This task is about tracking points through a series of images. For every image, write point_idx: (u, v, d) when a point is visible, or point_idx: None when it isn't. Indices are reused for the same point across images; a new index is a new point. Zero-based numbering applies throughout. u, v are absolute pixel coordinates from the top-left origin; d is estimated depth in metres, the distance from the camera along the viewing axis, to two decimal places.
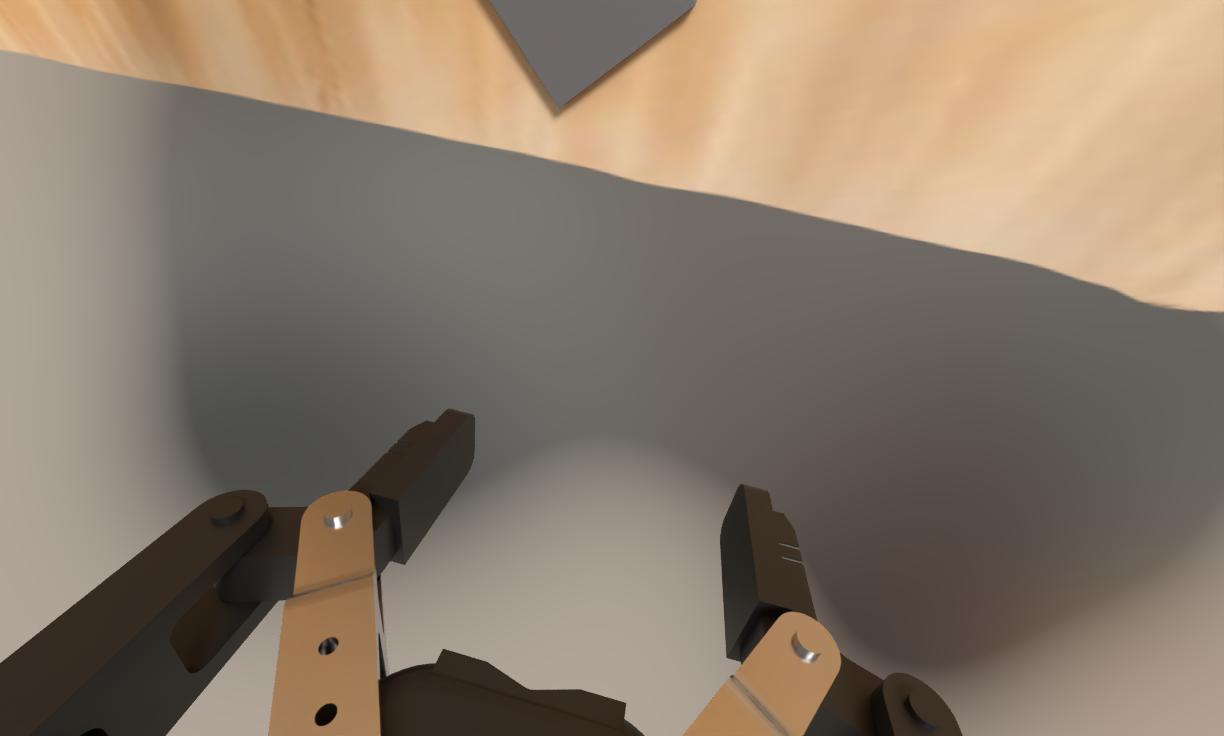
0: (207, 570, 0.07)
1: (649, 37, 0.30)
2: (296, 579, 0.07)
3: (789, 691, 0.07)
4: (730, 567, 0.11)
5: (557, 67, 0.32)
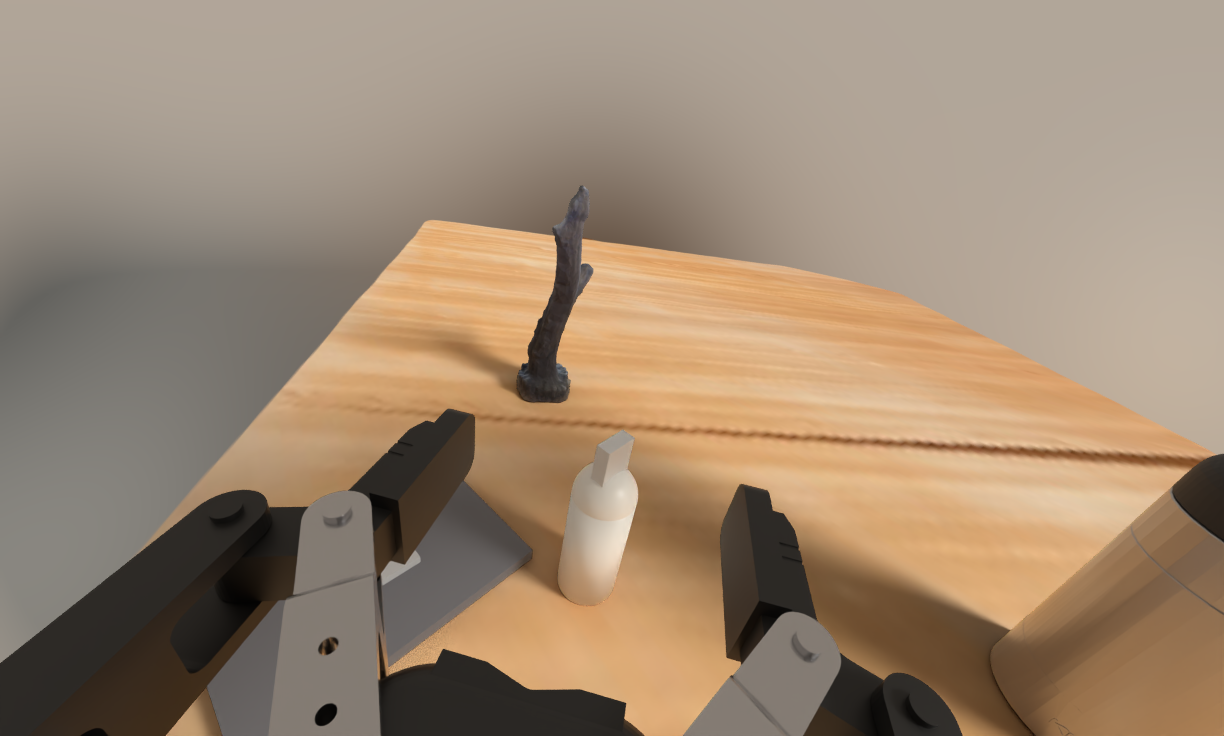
0: (207, 570, 0.07)
1: (217, 709, 0.22)
2: (296, 579, 0.07)
3: (789, 691, 0.07)
4: (730, 567, 0.11)
5: None
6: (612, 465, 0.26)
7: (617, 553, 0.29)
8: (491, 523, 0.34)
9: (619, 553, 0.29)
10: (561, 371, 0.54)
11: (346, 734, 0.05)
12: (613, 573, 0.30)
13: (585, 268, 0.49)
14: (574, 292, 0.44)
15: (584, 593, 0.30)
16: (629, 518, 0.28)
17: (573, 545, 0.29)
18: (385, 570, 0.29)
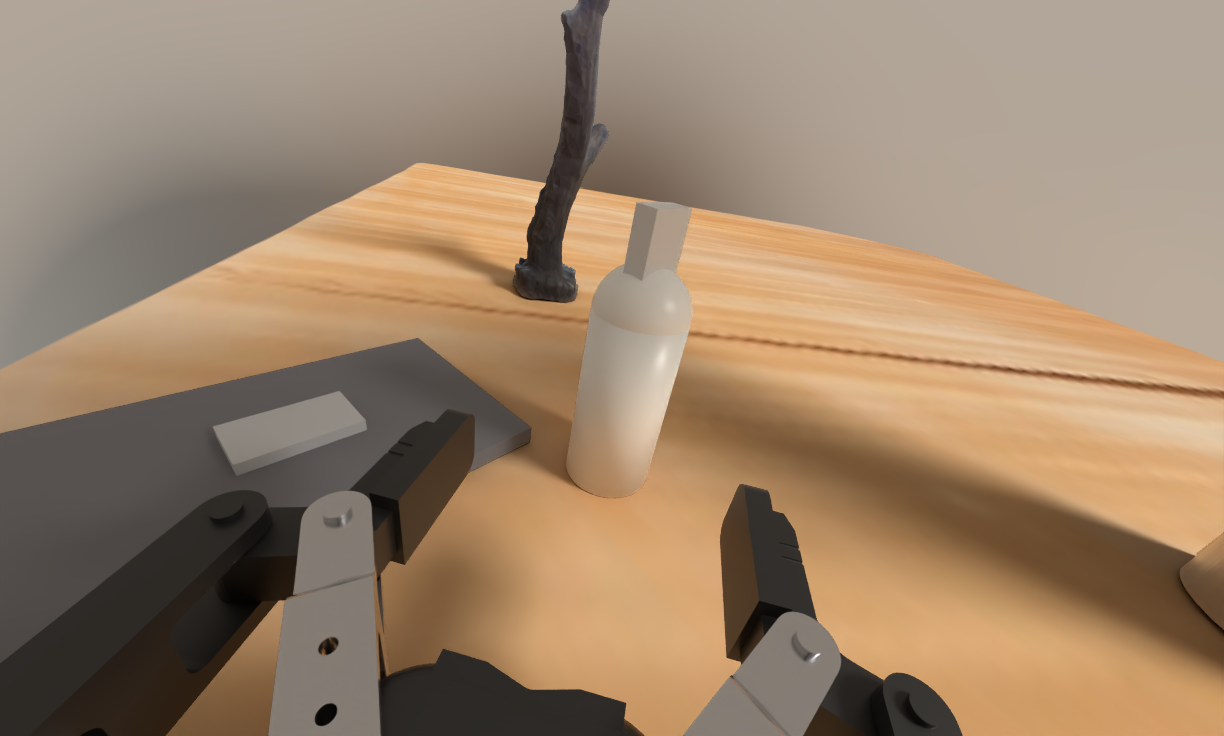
0: (207, 570, 0.07)
1: None
2: (296, 579, 0.07)
3: (789, 691, 0.07)
4: (730, 567, 0.11)
5: (57, 442, 0.17)
6: (658, 240, 0.16)
7: (658, 407, 0.19)
8: (474, 397, 0.25)
9: (661, 409, 0.20)
10: (567, 270, 0.45)
11: (346, 734, 0.05)
12: (649, 446, 0.21)
13: (599, 128, 0.39)
14: (587, 139, 0.35)
15: (606, 474, 0.21)
16: (680, 342, 0.18)
17: (592, 392, 0.19)
18: (310, 431, 0.19)
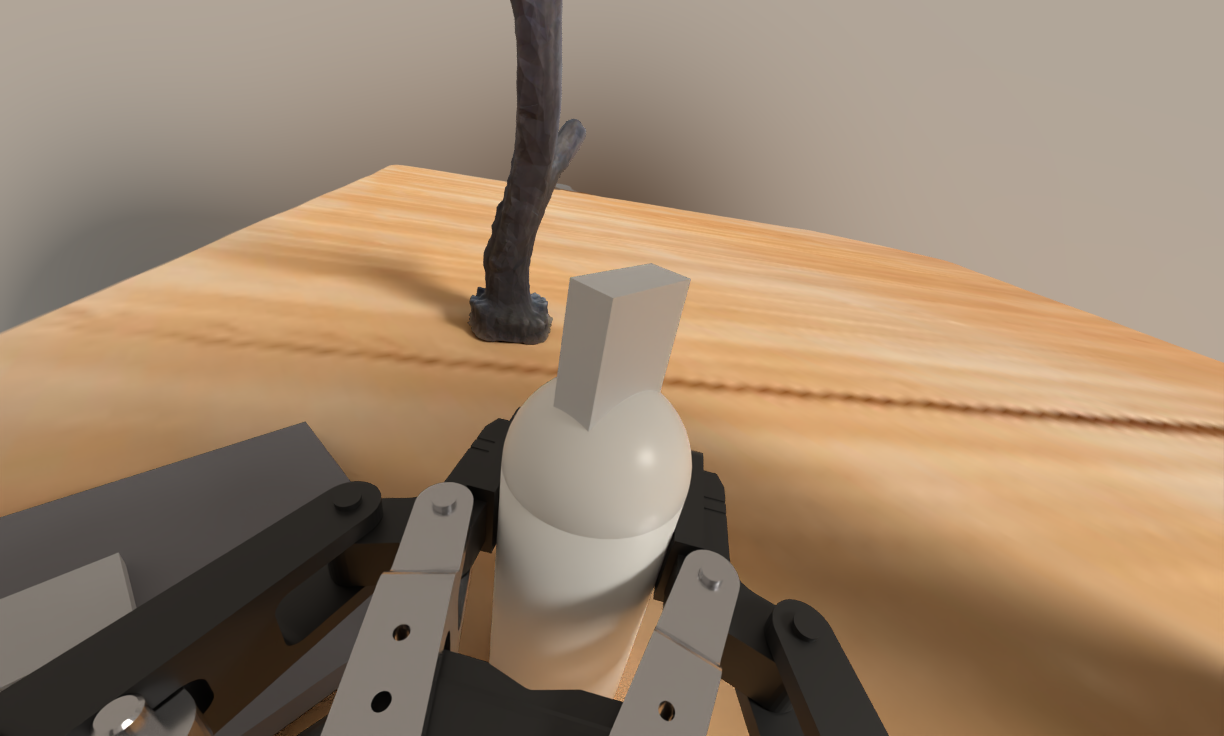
0: (317, 555, 0.08)
1: None
2: (397, 555, 0.08)
3: (704, 622, 0.08)
4: None
5: None
6: (620, 353, 0.08)
7: (631, 623, 0.11)
8: None
9: (636, 622, 0.11)
10: (538, 301, 0.36)
11: (346, 734, 0.05)
12: (619, 667, 0.12)
13: (573, 124, 0.31)
14: (552, 139, 0.26)
15: None
16: (669, 530, 0.09)
17: (509, 604, 0.10)
18: (8, 667, 0.11)
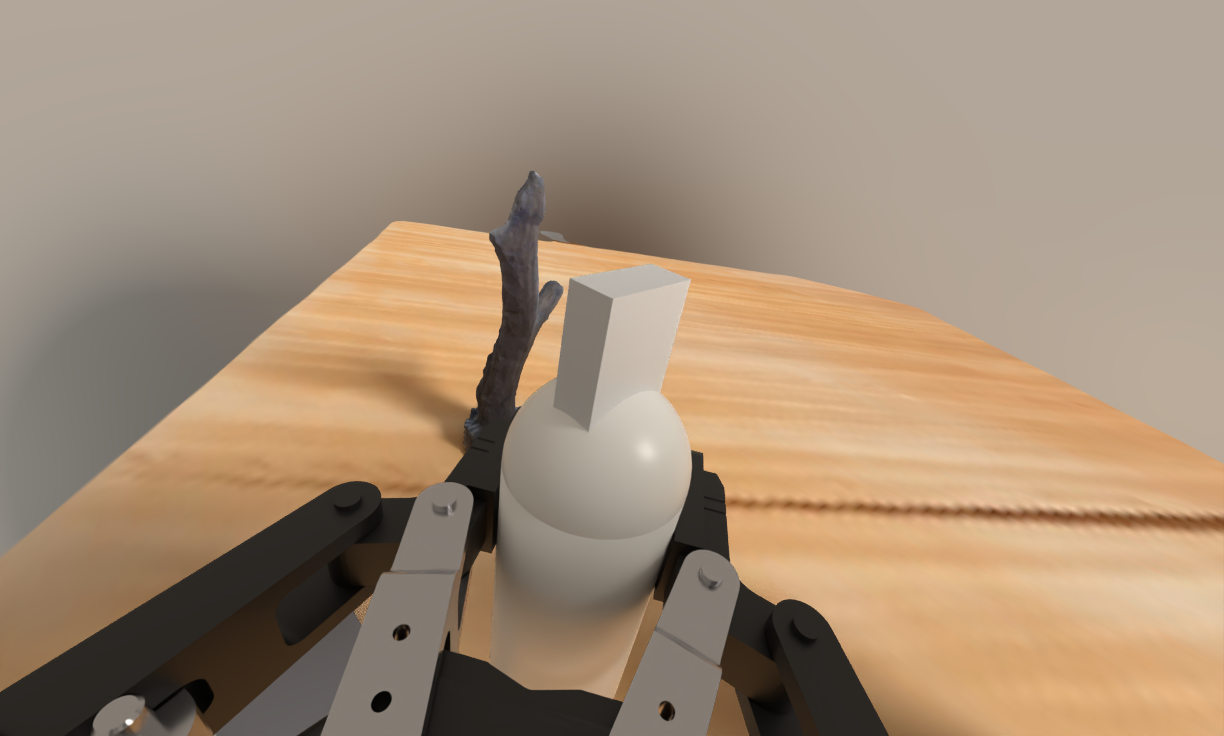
0: (317, 555, 0.08)
1: None
2: (397, 556, 0.08)
3: (704, 621, 0.08)
4: None
5: None
6: (620, 354, 0.08)
7: (631, 624, 0.11)
8: None
9: (636, 622, 0.11)
10: None
11: (346, 734, 0.05)
12: (619, 667, 0.12)
13: (552, 287, 0.36)
14: (531, 322, 0.32)
15: None
16: (669, 530, 0.09)
17: (510, 604, 0.10)
18: None
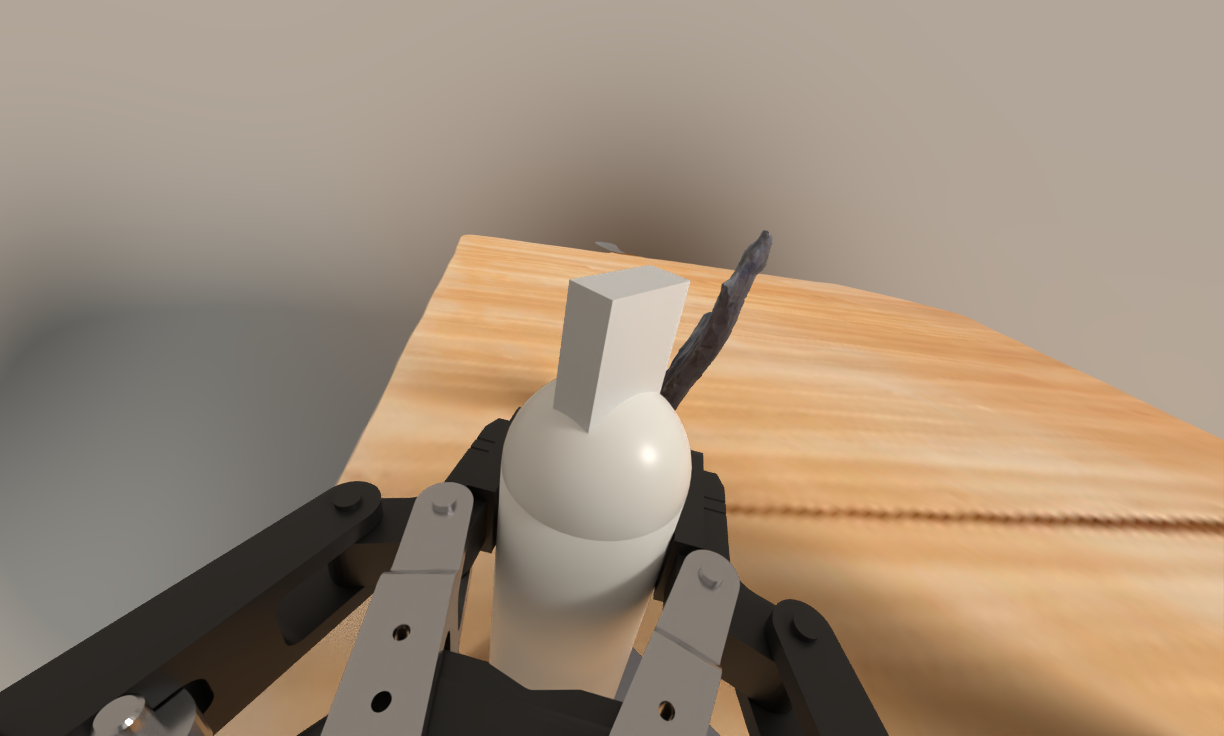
0: (317, 555, 0.08)
1: None
2: (396, 556, 0.08)
3: (704, 621, 0.08)
4: None
5: None
6: (619, 355, 0.08)
7: (631, 625, 0.11)
8: None
9: (635, 623, 0.11)
10: None
11: (346, 734, 0.05)
12: (618, 668, 0.12)
13: None
14: (716, 355, 0.35)
15: None
16: (669, 531, 0.09)
17: (509, 606, 0.10)
18: None
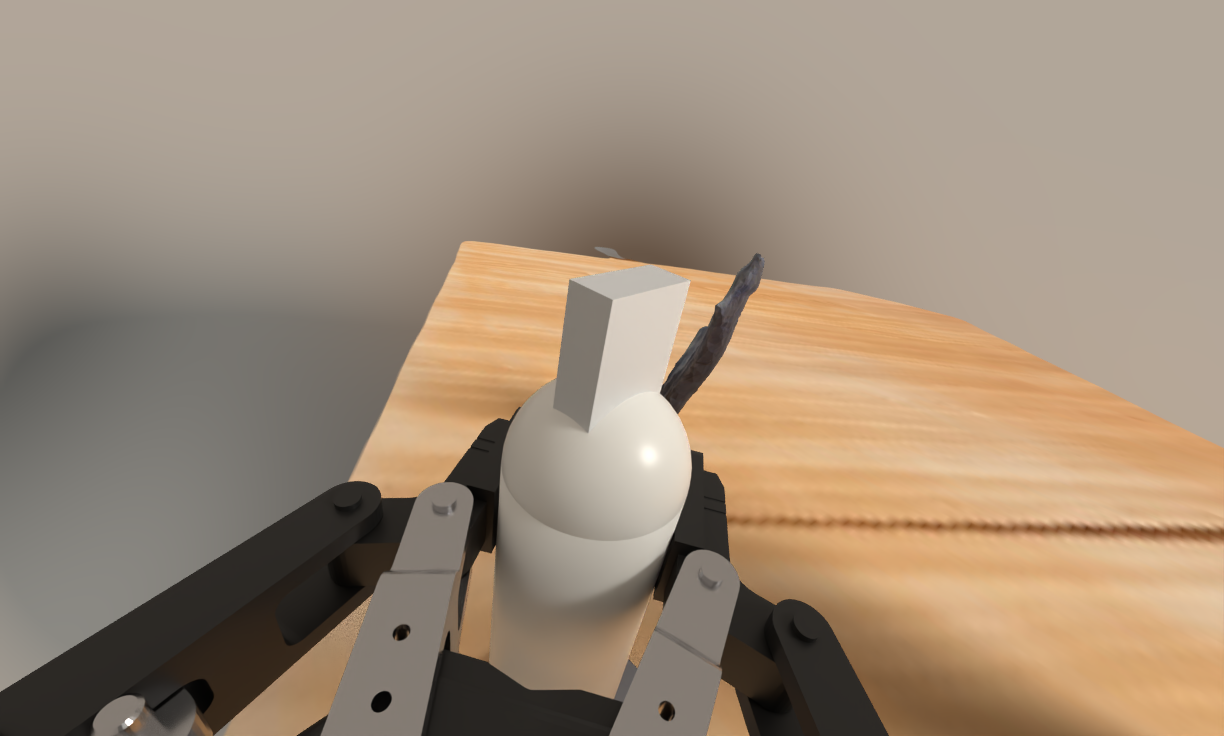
0: (317, 555, 0.08)
1: None
2: (397, 556, 0.08)
3: (704, 621, 0.08)
4: None
5: None
6: (620, 354, 0.08)
7: (631, 625, 0.11)
8: None
9: (636, 623, 0.11)
10: None
11: (346, 734, 0.05)
12: (619, 668, 0.12)
13: None
14: (711, 371, 0.36)
15: None
16: (669, 531, 0.09)
17: (509, 605, 0.10)
18: None
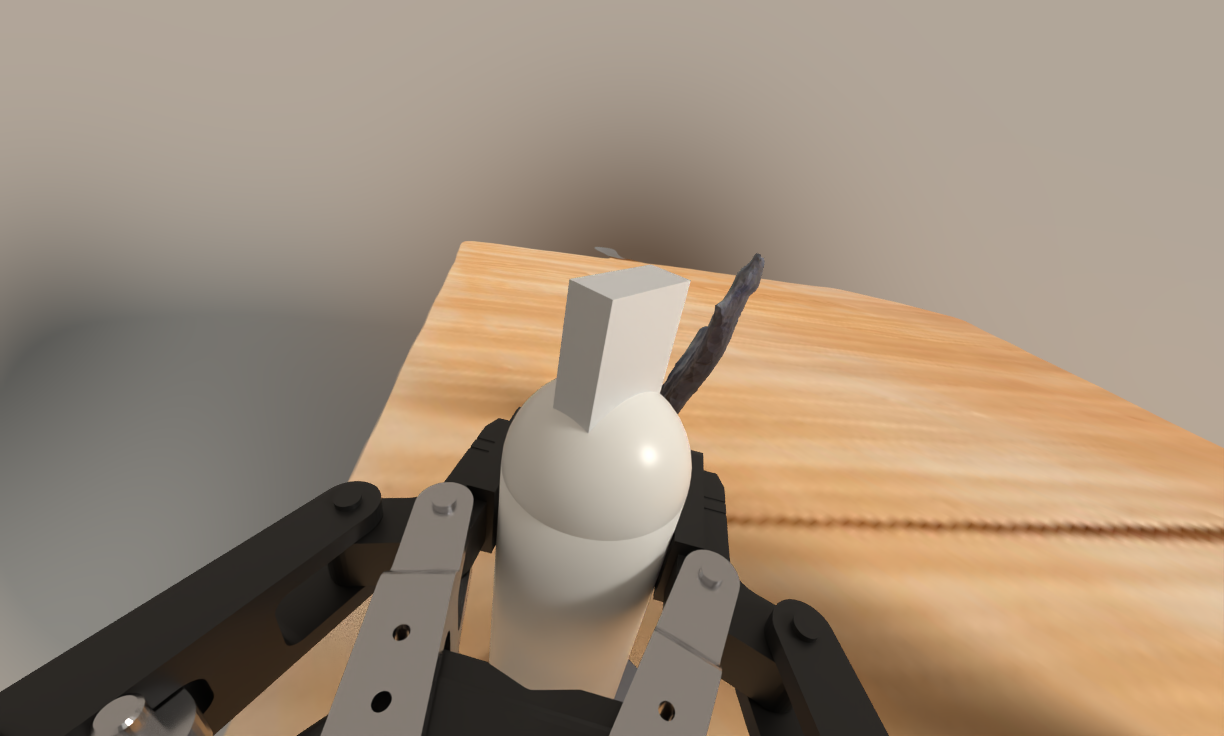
0: (317, 555, 0.08)
1: None
2: (397, 556, 0.08)
3: (704, 621, 0.08)
4: None
5: None
6: (620, 354, 0.08)
7: (631, 625, 0.11)
8: None
9: (636, 623, 0.11)
10: None
11: (346, 734, 0.05)
12: (619, 668, 0.12)
13: None
14: (711, 371, 0.36)
15: None
16: (669, 531, 0.09)
17: (509, 605, 0.10)
18: None
